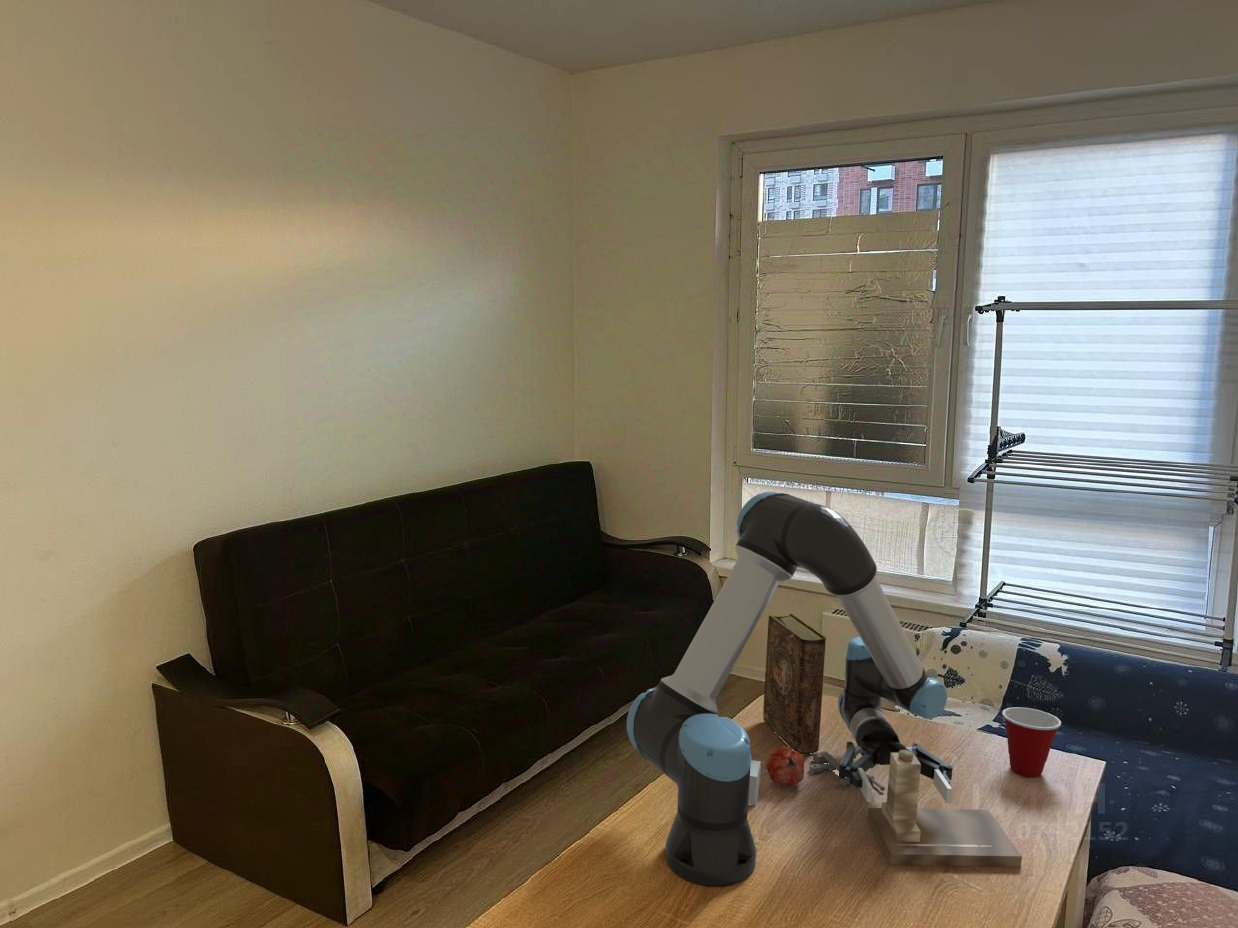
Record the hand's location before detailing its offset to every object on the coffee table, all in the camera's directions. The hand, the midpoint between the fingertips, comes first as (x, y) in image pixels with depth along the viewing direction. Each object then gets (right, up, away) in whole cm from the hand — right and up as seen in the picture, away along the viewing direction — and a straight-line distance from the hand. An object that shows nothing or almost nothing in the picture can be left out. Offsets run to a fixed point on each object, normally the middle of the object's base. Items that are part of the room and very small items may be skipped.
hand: (909, 795), depth 156 cm
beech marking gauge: (0, -7, +5) cm, 9 cm away
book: (-12, -2, +41) cm, 43 cm away
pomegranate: (-17, -6, +23) cm, 29 cm away
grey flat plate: (+7, -10, +4) cm, 12 cm away
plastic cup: (+33, -6, +29) cm, 44 cm away
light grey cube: (-26, -7, +18) cm, 32 cm away
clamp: (-5, -6, +25) cm, 26 cm away
